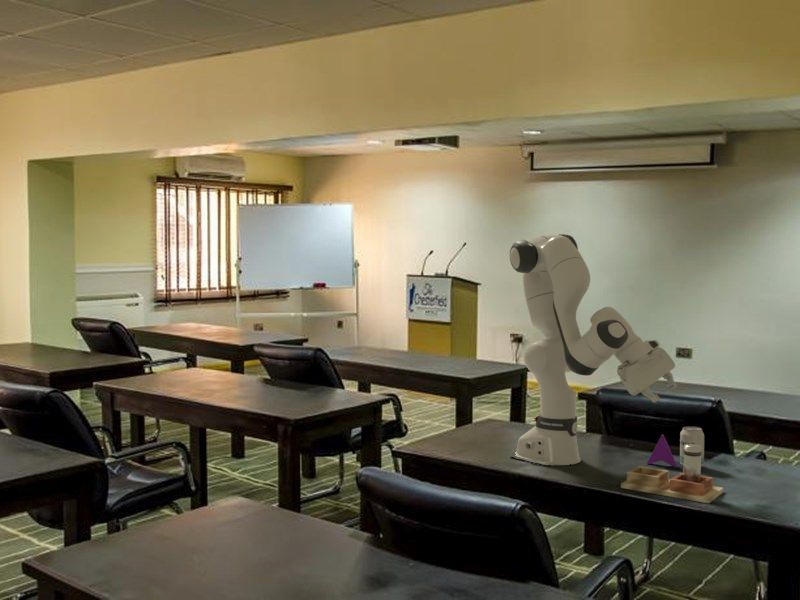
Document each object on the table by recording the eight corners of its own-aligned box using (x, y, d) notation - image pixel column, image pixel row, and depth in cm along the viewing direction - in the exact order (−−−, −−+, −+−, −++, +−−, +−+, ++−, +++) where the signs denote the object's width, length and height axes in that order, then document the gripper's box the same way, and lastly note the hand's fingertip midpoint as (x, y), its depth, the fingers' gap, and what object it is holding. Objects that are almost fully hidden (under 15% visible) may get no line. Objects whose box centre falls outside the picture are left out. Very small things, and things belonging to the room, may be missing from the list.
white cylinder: (680, 489, 216) (681, 446, 215) (685, 485, 219) (686, 443, 219) (697, 492, 213) (699, 448, 212) (702, 488, 217) (704, 445, 216)
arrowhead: (661, 480, 246) (638, 455, 249) (662, 479, 247) (639, 454, 250) (685, 460, 242) (662, 435, 245) (686, 459, 244) (662, 434, 247)
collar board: (620, 487, 222) (621, 472, 222) (638, 477, 232) (638, 463, 232) (709, 503, 207) (709, 487, 207) (723, 492, 218) (723, 476, 217)
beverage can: (675, 466, 244) (676, 428, 244) (686, 463, 249) (686, 425, 249) (697, 471, 239) (697, 431, 239) (707, 467, 244) (708, 428, 244)
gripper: (621, 363, 220) (653, 404, 216) (659, 338, 232) (691, 376, 229) (607, 374, 224) (639, 414, 221) (646, 348, 237) (676, 386, 233)
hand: (665, 394), depth 225 cm, fingers open, 8 cm apart
